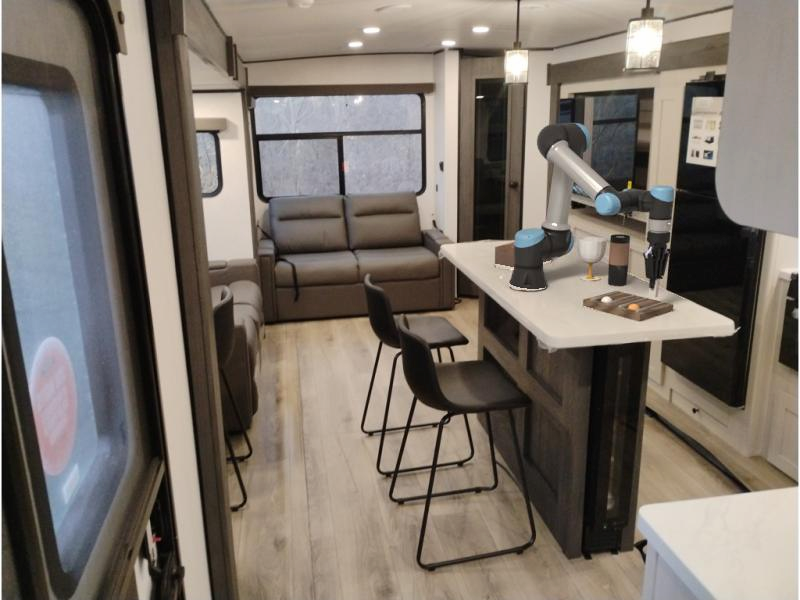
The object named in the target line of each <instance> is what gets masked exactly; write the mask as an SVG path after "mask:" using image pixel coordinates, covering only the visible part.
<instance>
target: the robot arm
mask: <svg viewBox="0 0 800 600" xmlns="http://www.w3.org/2000/svg"><path fill="white" fill-rule="evenodd" d="M536 145H537V149H538V151H539V153H540V155H541V156H542V157H543V158H544V159H545V160H546V161H547V162H548V163H550V164H553V171H552V178H551V184H550V190H549V196H548V197H549V199H548V206H547V211H546V212H547V213H546V218H545V220H544V221H543V222H542V223H541V227H539V228H538V227H532V228H524V229H520V230H519V231H517V232H516V233H515V235H514V241H513V242H514V270H513V271H512V273H511V275H510V276H511V277H510V279H509V283H510V284H511V285H513V286H516V287H520V288H527V289H539V288H545V287H546V286H547V287H548V282H547V279H546V276H545V271H544V265H543V260H544V259H549V258H552V259H554V258H561V257H563V256H565V255H567V254H569V253H570V252H571V251H572V249H573V247H574V244H575V236H574V235H573V233H574V232H573V231H572V230H571V228H572V227H571V225H570V224H569V222H568V221H569V216H570V209H571V202H572V196H573V189H574V184H576V185H577V187H578V188H580V189H581V190H582V191H583V192H584V193H586V194H585V195H587V196H589V197H590V198H591V199H592V201H594V207H595V210H596V212H597V213H598V214H599V215H602V216H615V215H620V214H627V213H631V212H641V213H642V212H643V213H648V220H647V221H648V222H647V233H646V241H647V243H648V244H649V245H648V247H647V249H648V250H647V251H646V252H643V254H642V255H643V259H644V270H645V272H644V273H645V278H646V279H649V284H648V285H649V287H648V297H652V298H658V297H659V288H660V280H663V279H664V276H665V273H666V269H667V265H668V261H669V257H670V254H671V251H672V249H671V248H668V245H667V244H669V243H670V242H671V234H672V233H671V232H670V231H671V230H672V220H673V210H674V203H675V202H674V201H675V188H674V187H673V186H672V185H658V184H657V185H653V186H651V188H650V190H644V189H636V188H624V189H623V190H622V191H617V190H616V189H615V188H614V187H613V186H612V185H611V184H609V183H608V182H607V181H606V180H605V179H604V178H603V177H602V176H601V175H600V174H599V173H597V172H596V171H595V170H594V169H593V168H592V167H591V166H589V164H588V163H586V162H585V161H584V160H583V159H582V158H583V154H584V153H586V152H587V151H588V149H589V148H590V146H591V134H590V131H589V130H588V128H587V127H586V126H585V124H582V123H577V122H564V123H550V124H548V125H545V126H544V127H543V128H542V129H541V130H540V131H539V133H538V135H537V139H536ZM509 283H508V284H509Z"/></svg>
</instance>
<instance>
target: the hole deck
mask: <svg viewBox="0 0 800 600" xmlns="http://www.w3.org/2000/svg"><path fill="white" fill-rule="evenodd" d="M605 296H608V297H610V298H611V299H612V301H611V302H607V303H604V302H601V299H602V298H603V297H605ZM631 304H637V305H638V306H639V307H640V309H638V310H636V311H635V310H631V309H628V307H629V305H631ZM584 306H586V307H585V308H588V307H589V308H590V309H591V308H593V309H592V310H595V309H596V310H595V311H599V312H603V313H606V314H611V315H613V316H617V317H620V318H625V319H629V320H632V321H635V322H639V323H640V322H643V321H646V320H649V319H652V318H656V317H659V316H662V315H665V314H668V312H669V313H672V312H673V311H674V304H673V303H669V302H665V301H661V300H657V299H653V298H648V297H644V296H640V295H636V294H632V293H628V292H627V293H626V292H623V291H620V290H614V291H610V292H607V293H603V294H598V295H596V296H592V297H588V298H584V299H582V307H584ZM589 308H588V309H589ZM671 311H672V312H671Z"/></svg>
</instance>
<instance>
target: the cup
mask: <svg viewBox="0 0 800 600" xmlns="http://www.w3.org/2000/svg"><path fill="white" fill-rule="evenodd" d="M607 243H608V240H607V238H605V237H600V236H582V237H579V238H577V252H578V253H577V254H578V256H579V258H580V259H581V261H582V262H584V263H585V264H586V263H587V264H588V267H589V271H588V275H587V276H588V277H586V278H587V279H595V278H594V277H592V276H593V275H592V273H593V271H592V270H593V264H597V263H599V262H601V260H603V258H604V257H605V253H606V249H607ZM598 277H599V278H600V279H601V280H602V278H601V277H600V276H598ZM600 279H598V280H599V281H601V280H600Z"/></svg>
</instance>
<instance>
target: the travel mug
mask: <svg viewBox="0 0 800 600" xmlns="http://www.w3.org/2000/svg"><path fill="white" fill-rule="evenodd" d="M609 241H610V242H609V253H608V254H609V255H608V272H607V273H608V274H607V277H608V278H607V283H608V285H609V286H612V285H613V287H624V285H625V286H626V285H627V281H628V273H629V272H628V271H629V260H630V246H631V243H630V242H631V236H630V235H628V234H620V233H619V234H617V233H616V234H611V235H610V238H609Z"/></svg>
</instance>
